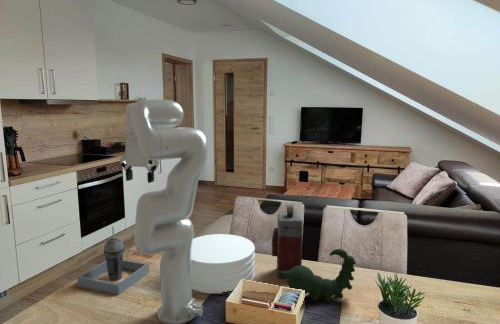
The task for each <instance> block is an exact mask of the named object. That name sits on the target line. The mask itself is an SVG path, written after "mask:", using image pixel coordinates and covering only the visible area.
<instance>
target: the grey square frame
mask: <svg viewBox="0 0 500 324" xmlns="http://www.w3.org/2000/svg"><path fill="white" fill-rule="evenodd" d="M122 270H130V271H134V272H132V273H131V274H130V275H129V273H127V272H124V271H122V278H121V279H120V280H118V281H110V280H109V275H108V273H107V274H105V275H104V276H103V277H102V278H101V279H97V277H99V276H100V275H101V274H102V273H105V272H107V271H108V269H107V263H106V260H104V261H103V262H101V263H99V264H97V265H96V266H94V267H92V268H91V269H89V270H87V271H86V272H84V273H82V274H80V275H78V276H77V286H78V287H81V288H86V289H91V290H95V291H99V292H103V293H108V294H109V293H110V294H114V295H121V294H122V293H123V292H125V291H126V290H127V289H129V288H130V287H132V286H133V285H134V284H135V283H137V282H138V281H140V280H141V279H142V278H143V277H145V276H146V275H147V274H149V273H150V263H146V262H141V261H135V260H131V259H130V260H129V259H124V258H123V268H122Z"/></svg>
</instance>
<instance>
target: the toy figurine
mask: <svg viewBox="0 0 500 324" xmlns="http://www.w3.org/2000/svg"><path fill="white" fill-rule="evenodd" d="M334 255H335V256H336V255H337V256H339V257H340V258H342V259H343V262H342V264H341V269H340V270H339V273H338V275H337V276H336V278H334V279H329V278H323V277H322V276H320V275H317V274H315V273H314V272H313V270H311V269H310V267H308V266H305V265H299V266H295V267H293V268H292V269H291V270H290V271H281V272H279V274H280V275H282V276H283V277H284V278H286V279H285V280H286V282H287V285H288V288H289V287H290V288H295V289H302V290H305V294H304V295H306V294H307V295H308V294H309V295H310V297H311V300H313V301H317V300H319V298H320V296H321V297H323V298H324V301H325V302H326V301H328V302H331V300H332V299H331V298H332V297H334V296H336V298H338V299H340V300H341V299H343V298H344V293H343V291H344V290H345V289H347V290H352V289H353V286H352V284H351V281H354V280H355V278H354V276H353V274H352V273H354V272H355V270H356V269H355V267H354V265H356V263H357V262H356V261H355V258H354V257H353V256H352V255H348V253H347V251H346V250H344V249H342V248H336V249H333V250H331V251H330V253H329V256H334ZM290 288H289V289H290ZM328 302H327V303H328Z"/></svg>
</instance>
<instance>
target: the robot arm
mask: <svg viewBox="0 0 500 324" xmlns="http://www.w3.org/2000/svg"><path fill="white" fill-rule="evenodd" d="M184 115H185V114H184V109H183V108H182V106H181V105H180V103H178V102H176V101H174V100H172V99H139V100H137V101H135V102H131V103H128V104H126V106H125V116H126V117H125V118H126V134H127V136H126V137H127V140H126V142H125V148H124V149H125V151H124V152H125V153H124V156H121V157H119V162H120V164H121V165H120V166H121V167H122V168H123V170H124V171H125V181H126V182H129V181H132V180H134V179H133V178H134V175H133V169H132V168H133V167H136V168H137V167H138V168H145V169H146V170H147V171H148V172H147V173H146V175H147V177H146V178H147V183H148V184H149V183H150V184H151V183H153V182H154V181H155V171H156V169H158V167H159V164H160V160H161V161H163V160H173V159H180V160H179V162H177V163H176V164H175V165H174V166H173V167H172V169H171V170H170V172H169V173H168V175H167V179H166V187H165V188H164V189H162V190H161V189H160V190H154V191H148V192H145V193H143V194H141V196H140V197H138V198H139V199H138V200H137V204H136V209H135V210H136V212H135V222H134V233H133V234H134V236H133V238H134V241H133V242H134V247H135V250H136V251H137V252H138V253H139V254H140V255H144V256H149V255H155V254H157V253H162V252H163V253H162V256H161V259H160V263H159V265H160V266H159V271H160V273H159V274H160V294H161V295H160V296H161V298H160V299H161V305H160V306H159V307H158V309H157V311H156V317H157V319H158V321H160V322H161V323H163V324H186V323H188V322H190V321H192V320H193V319H194V318H195V317H196V316H199V317H202V316H203V314H204V307H203V304H198V303H196V298H195V297H194V298H193V289H192V269H191V251H192V242H193V239H194V234H195V228H194V225H193V222H192V220H191V219H189V218H190V217H191V216H192V214H193V210H194V205H195V200H196V195H197V190H198V183H199V179H200V177H201V175H202V173H203V170H204V167H205V165H206V163H207V162H206V161H207V158H208V141H207V138H206V135H205V134H204V132H203V131H202V130H200V129H199V128H198V129H197V128H195V127H187V126H186V127H183V126H182V127H178V126H179V125H180V124H181V123H182V122H183V119H184Z"/></svg>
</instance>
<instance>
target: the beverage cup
mask: <svg viewBox="0 0 500 324" xmlns="http://www.w3.org/2000/svg"><path fill="white" fill-rule="evenodd" d="M111 228H112V238H110V239H108V240H107V241H106V242H105V244H104V246H103V254H104V257H105V261H106V263H107V269H108V270H107V274H108V275H109V280H110V281H118V280H120V279H121V278H122V272H123V269H122V268H123V259H124V252H125V246H124V243H123V241H121V239H119V238H116V237H115V228H114V226H112V227H111Z"/></svg>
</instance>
